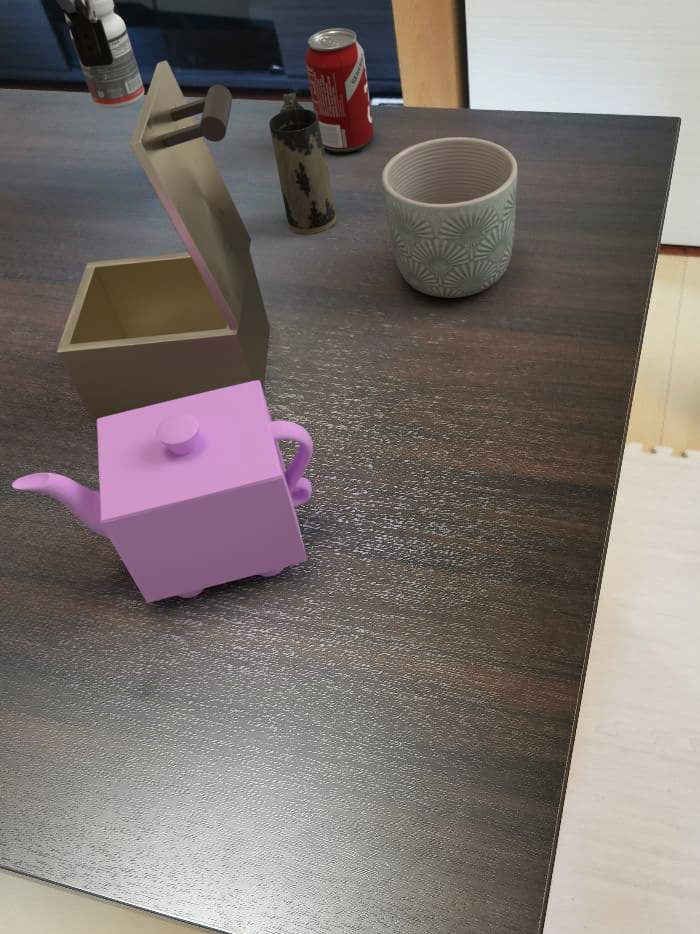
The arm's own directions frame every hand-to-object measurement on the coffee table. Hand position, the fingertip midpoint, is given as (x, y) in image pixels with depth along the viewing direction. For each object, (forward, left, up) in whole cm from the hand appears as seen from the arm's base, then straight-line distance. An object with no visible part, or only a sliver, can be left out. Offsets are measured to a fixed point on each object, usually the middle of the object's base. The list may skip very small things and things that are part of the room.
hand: (104, 50), depth 88 cm
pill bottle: (0, 0, -5) cm, 5 cm away
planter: (+34, -23, -16) cm, 44 cm away
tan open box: (+8, -35, -16) cm, 39 cm away
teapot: (+12, -56, -16) cm, 59 cm away
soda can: (+23, +7, -16) cm, 29 cm away
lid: (+14, -35, +1) cm, 38 cm away
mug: (+19, -9, -16) cm, 27 cm away
